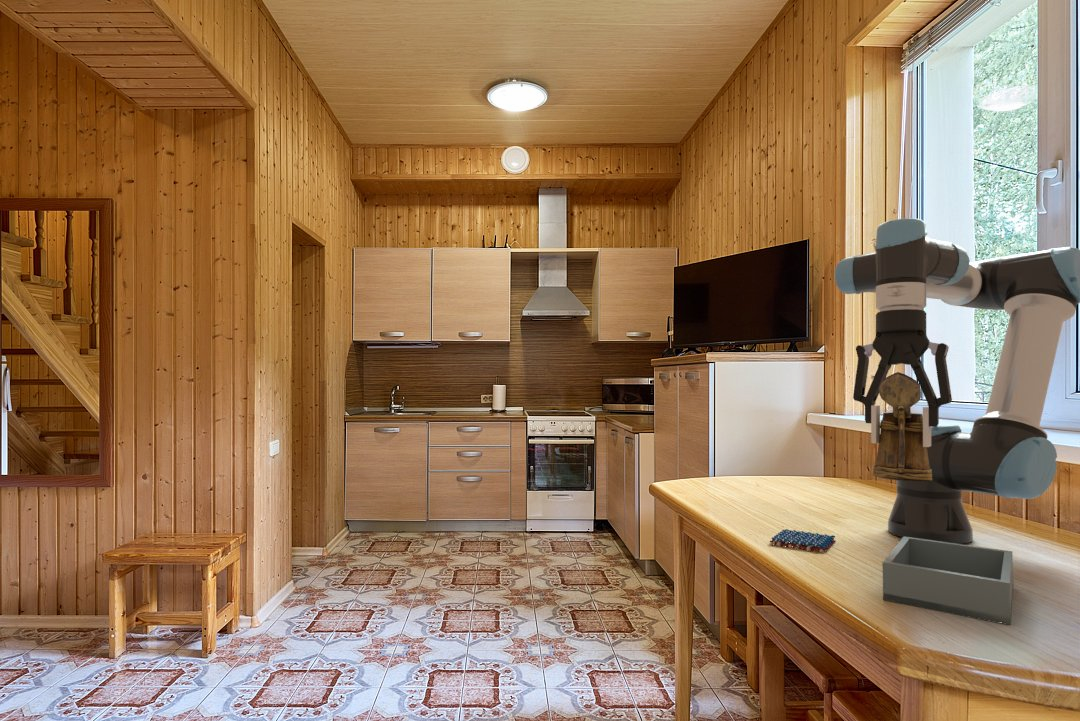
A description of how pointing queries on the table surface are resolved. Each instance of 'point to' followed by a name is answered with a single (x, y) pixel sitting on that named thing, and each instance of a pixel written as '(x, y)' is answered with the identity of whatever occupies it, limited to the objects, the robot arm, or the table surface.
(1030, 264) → the robot arm
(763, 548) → the table surface
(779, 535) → the woven mat
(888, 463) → the wooden mug
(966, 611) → the bin
